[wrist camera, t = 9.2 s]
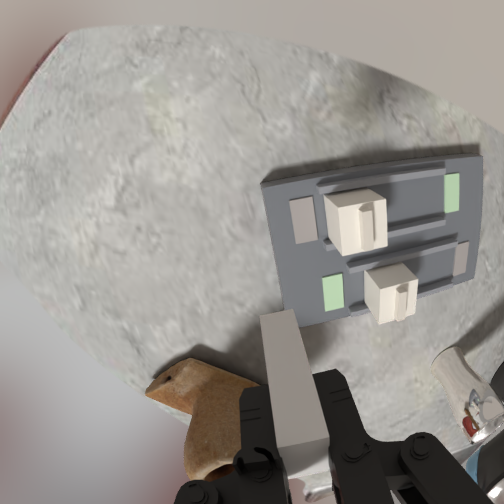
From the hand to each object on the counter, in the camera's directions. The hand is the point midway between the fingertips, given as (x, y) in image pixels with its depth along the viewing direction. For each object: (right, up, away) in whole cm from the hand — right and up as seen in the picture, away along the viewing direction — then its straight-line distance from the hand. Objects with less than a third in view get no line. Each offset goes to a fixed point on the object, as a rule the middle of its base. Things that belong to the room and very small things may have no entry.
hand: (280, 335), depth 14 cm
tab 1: (+7, +7, +13) cm, 16 cm away
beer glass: (+29, -13, +26) cm, 41 cm away
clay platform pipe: (-6, -13, +24) cm, 28 cm away
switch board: (+13, +6, +16) cm, 21 cm away
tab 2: (+12, +1, +16) cm, 20 cm away
